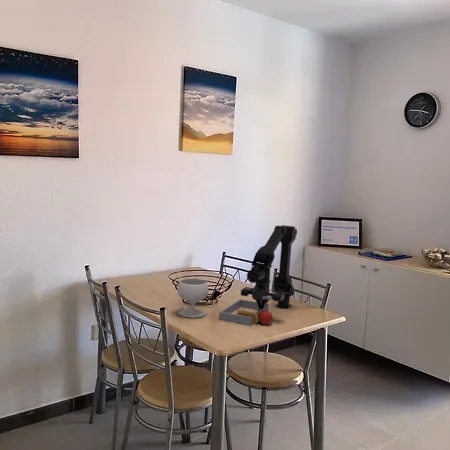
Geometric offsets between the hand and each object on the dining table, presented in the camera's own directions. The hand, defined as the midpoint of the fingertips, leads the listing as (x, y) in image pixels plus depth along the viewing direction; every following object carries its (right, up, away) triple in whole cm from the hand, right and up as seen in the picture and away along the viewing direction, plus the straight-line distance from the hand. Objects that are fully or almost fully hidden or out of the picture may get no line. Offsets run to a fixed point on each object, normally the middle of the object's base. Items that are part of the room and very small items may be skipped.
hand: (261, 312), depth 206 cm
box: (-7, -2, +3) cm, 8 cm away
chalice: (-31, -1, +2) cm, 31 cm away
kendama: (-4, -3, -3) cm, 5 cm away
